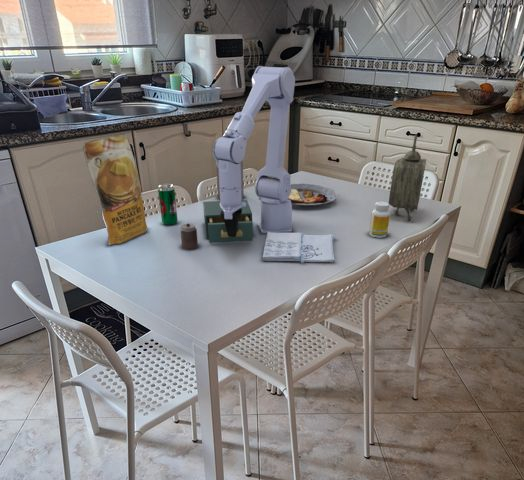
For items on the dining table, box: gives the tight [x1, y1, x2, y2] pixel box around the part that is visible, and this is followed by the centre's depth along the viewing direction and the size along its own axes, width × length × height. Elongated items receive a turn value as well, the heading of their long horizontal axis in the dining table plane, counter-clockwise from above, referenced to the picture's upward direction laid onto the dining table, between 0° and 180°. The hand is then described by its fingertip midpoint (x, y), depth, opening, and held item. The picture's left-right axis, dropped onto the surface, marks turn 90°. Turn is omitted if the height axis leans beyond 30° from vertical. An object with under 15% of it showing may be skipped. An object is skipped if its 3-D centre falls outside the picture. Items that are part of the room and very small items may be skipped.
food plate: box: [287, 183, 338, 207], centre depth 176 cm, size 25×23×4 cm
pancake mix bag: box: [82, 133, 148, 246], centre depth 139 cm, size 7×19×28 cm, turn 149°
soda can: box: [157, 183, 179, 226], centre depth 153 cm, size 5×5×12 cm
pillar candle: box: [215, 159, 245, 200], centre depth 175 cm, size 10×10×15 cm
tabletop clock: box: [388, 134, 427, 222], centre depth 155 cm, size 14×9×25 cm, turn 161°
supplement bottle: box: [368, 201, 391, 239], centre depth 145 cm, size 5×5×10 cm
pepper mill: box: [179, 223, 199, 251], centre depth 138 cm, size 5×5×7 cm
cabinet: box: [202, 199, 253, 240], centre depth 149 cm, size 13×14×7 cm
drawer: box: [208, 216, 254, 244], centre depth 142 cm, size 16×13×6 cm
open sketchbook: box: [262, 232, 336, 264], centre depth 137 cm, size 19×20×2 cm
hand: (232, 236), depth 135 cm, fingers closed
